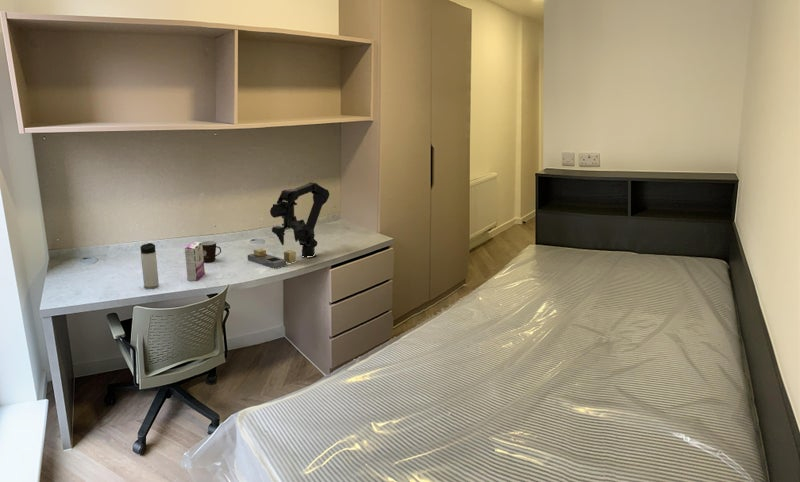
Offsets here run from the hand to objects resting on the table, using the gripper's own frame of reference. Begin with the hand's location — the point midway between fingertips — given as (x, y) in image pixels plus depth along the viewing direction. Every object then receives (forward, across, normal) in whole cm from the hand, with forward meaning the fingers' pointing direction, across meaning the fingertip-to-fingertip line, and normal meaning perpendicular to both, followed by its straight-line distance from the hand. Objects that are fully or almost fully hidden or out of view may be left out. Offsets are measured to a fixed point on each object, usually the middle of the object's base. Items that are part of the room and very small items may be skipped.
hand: (289, 243), depth 307 cm
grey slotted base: (+10, -9, +8) cm, 16 cm away
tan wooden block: (+11, 0, 0) cm, 11 cm away
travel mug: (+10, -68, +17) cm, 71 cm away
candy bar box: (+10, -47, +14) cm, 50 cm away
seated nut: (+10, -9, +14) cm, 19 cm away
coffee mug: (+11, -28, +31) cm, 43 cm away
